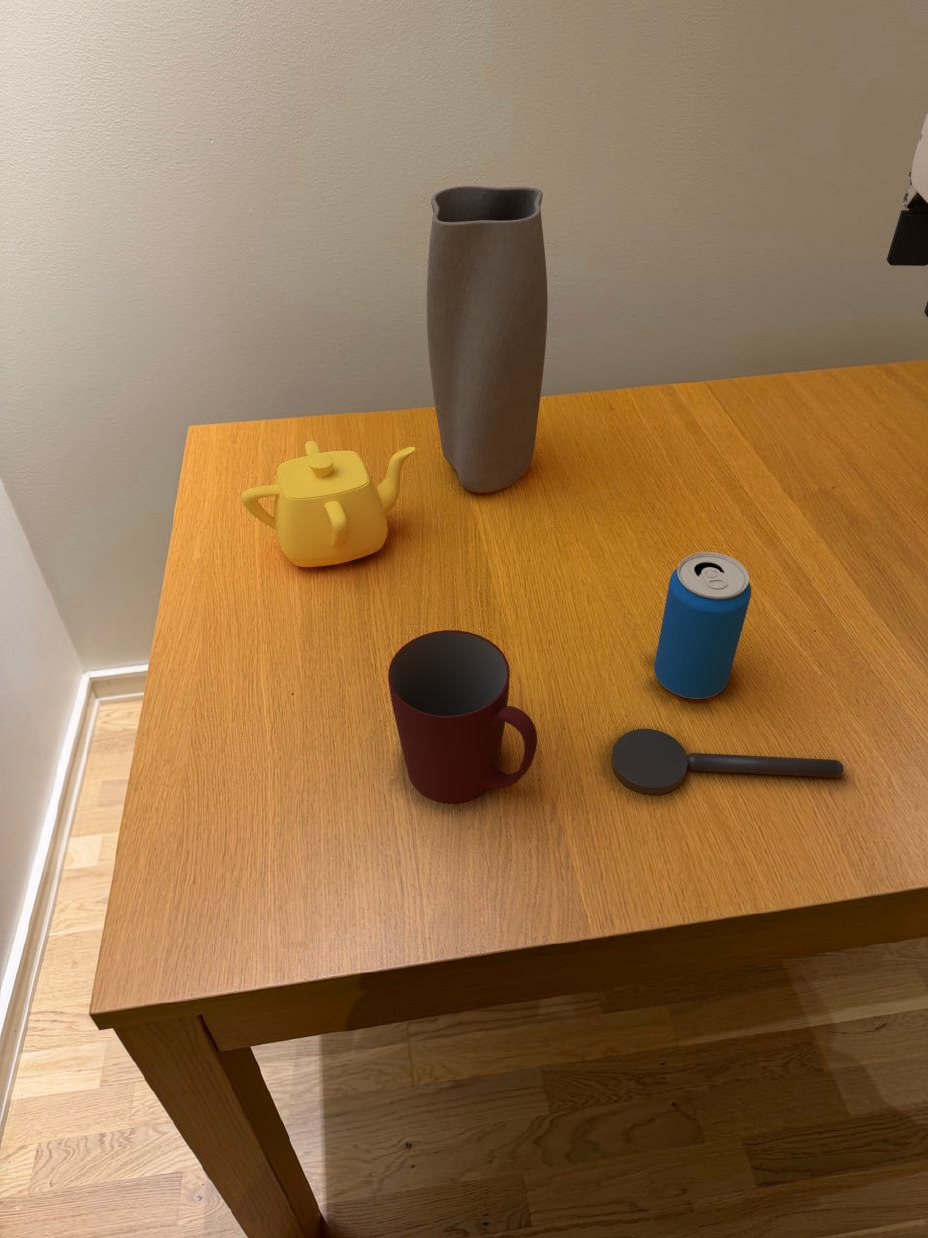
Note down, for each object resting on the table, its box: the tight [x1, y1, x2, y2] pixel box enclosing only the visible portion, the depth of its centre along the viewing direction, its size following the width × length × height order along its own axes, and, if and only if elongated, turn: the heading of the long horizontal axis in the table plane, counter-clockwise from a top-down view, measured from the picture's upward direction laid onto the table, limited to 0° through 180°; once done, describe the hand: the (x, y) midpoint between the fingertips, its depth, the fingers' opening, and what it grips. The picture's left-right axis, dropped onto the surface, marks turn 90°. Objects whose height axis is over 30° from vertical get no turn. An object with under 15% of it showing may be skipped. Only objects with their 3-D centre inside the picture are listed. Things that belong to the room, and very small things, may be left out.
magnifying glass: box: [610, 728, 845, 796], centre depth 71 cm, size 18×6×1 cm, turn 86°
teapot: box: [240, 440, 416, 568], centre depth 91 cm, size 14×13×10 cm
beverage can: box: [653, 551, 752, 700], centre depth 75 cm, size 6×6×12 cm
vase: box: [426, 185, 549, 494], centre depth 94 cm, size 12×12×30 cm
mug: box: [387, 629, 538, 804], centre depth 68 cm, size 12×9×11 cm
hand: (926, 289), depth 66 cm, fingers open, 9 cm apart
